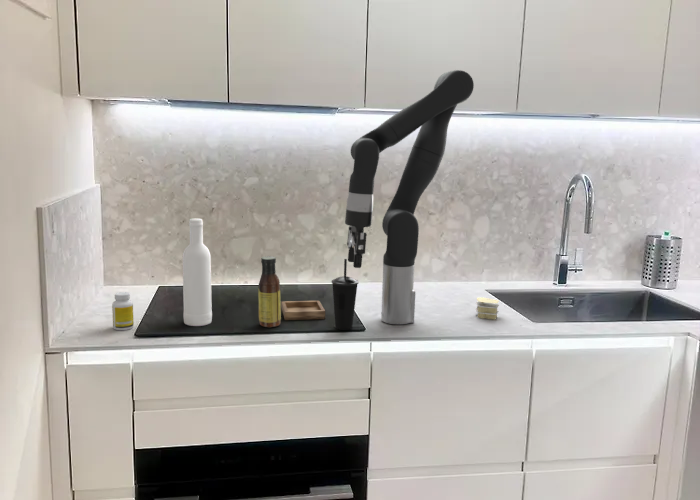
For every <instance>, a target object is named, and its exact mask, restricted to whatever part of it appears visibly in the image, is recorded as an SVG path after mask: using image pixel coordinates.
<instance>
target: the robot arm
mask: <svg viewBox="0 0 700 500" xmlns="http://www.w3.org/2000/svg"><path fill="white" fill-rule="evenodd" d="M474 87H475V85H474V79H473V77H472V76H471V75H470V74H469V73H468V72H467V71H464V70H461V69H455V70H450V71H447V72H444V73H443V74H441V75H440V76H439V77H438V78H437V80H436V82H435V84H434V86H433V90H432V91H430V92H429V93H428V94H427V95H425V96H423V97H422V98H420V99H419V100H417V101H416V102H414V103H411V104H409V106H406V107H405V108H403V109H402V110H400V111H398V112H397V113H395V114H393V115H392V116H391V117H389V118H388V119H387V120H385V121H383V122H382V123H381V124H380V125H378V126H377V127H376V128H374V129H373V130H371V131H369V132H367V133H366V134H363V135H362V136H361V137H359V138H358V139H356V140H355V141H354V142H353V143H352V144H351V147H350V155H351V157H352V159H353V160H354V161H353V171H352V173H351V174H350V176H349V177H350V178H349V184H348V192H347V194H348V195H347V199H346V208H345V221H344V224H345V225H346V226H348V230H347V231H348V232H347V233H348V234H347V240H346V241H347V242H346V245H347V249H348V254H347V262H349V263H353V264H352V266H353V268H355V269H361V267H362V264H363V263H362V262H363V256H364V255H365V254H366V247H367V246H366V245H367V236H368V235H367V232H364V230H365V229H364V228H369V227H372V221H373V220H372V219H373V218H372V217H373V209H374V192H375V191H374V189H375V177H376V174H377V168H378V165H379V162H380V161H379V160H380V153H382V152H383V151H385V150H386V149H388V148H391V147H394V146H395V145H397V144H399V142H402V140H404V139H405V138H406V137H408V136H410V135H411V134H412V133H414V132H416V130H417V129H419V131H418V133H417V136H416V139H415V140H414V142H413V145H412V147H411V149H410V151H409V155H408V158H407V160H406V164H405V167H404V170H403V172H402V176H401V178H400V180H399V185H398V187H397V189H396V192H395V194H394V196H393V198H392V201H391V203H390V204H389V205H388V208H387V210H386V212H385V214H384V215H383V217H382V218H383V219H382V222H381V223H382V224H381V225H382V230H383V233H384V234H385V235H386V247H385V248H386V249H385V253H384V254H383V258H382V281H381V283H382V285H381V289H382V290H381V314H380V315H381V316H380V320H381V322H383V323H386V324H390V325H406V324H410V323H415V312H416V311H415V309H416V291H415V290H414V285H415V284H414V281H415V261H416V257H417V254H418V246H419V232H420V231H419V230H420V228H419V222H418V221H419V220H418V219H417V217H416V216H415V215H414V214H415V212H416V208H417V206H418V203H419V201H420V199H421V196H422V195H423V193H424V191H425V190H426V189H427V188H428V186H430V183H431V182H432V181H433V179H434V178H435V176H436V174H437V173H438V170H439V168H440V165H441V163H442V160H443V158H444V155H445V151H446V147H447V146H446V145H447V138H448V137H447V136H448V129H449V124H450V120H451V118H452V116H453V114H454V111H455V110H456V107H458V106H457V105H458V104H461V103H464V102H465V101H467V100H468V99H469V98H470V97H471V96H472V94H473V92H474Z"/></svg>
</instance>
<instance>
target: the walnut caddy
mask: <svg viewBox="0 0 700 500" xmlns="http://www.w3.org/2000/svg"><path fill="white" fill-rule="evenodd" d="M280 304H281V314H282V316H283V318H284V321H302V320H304V321H306V320H325V319H326V309H325V308H324V307H323V304H322V303H321V301H320V300H295V301H294V300H293V301H291V300H289V301H285V300H284V301H280Z"/></svg>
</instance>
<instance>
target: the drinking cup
mask: <svg viewBox="0 0 700 500" xmlns="http://www.w3.org/2000/svg"><path fill="white" fill-rule="evenodd" d="M343 261H344V262H343V263H344V264H343V276H342V275H341V276H339V277H336V278H334V279H331V281H330V282H331V284H332V294H333V295H332V297H333V309H334V310H333V311H334V313H333V314H334V324H335V325H334V328H335V329H336V330H340V331H341V330H342V331H348V330H352V329H353V324H354V315H355V307H356V298H357V290H358V284H359V280H358V279H355V278H354V277H350V276H347V271H348V270H347V266H348V265H347V263H348V258H344V260H343Z"/></svg>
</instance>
